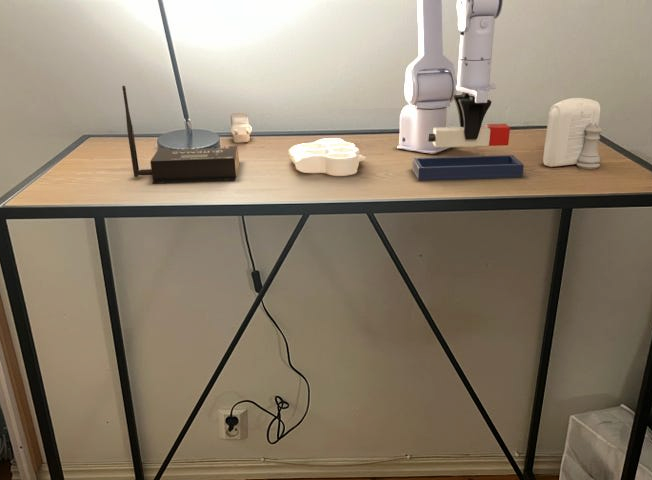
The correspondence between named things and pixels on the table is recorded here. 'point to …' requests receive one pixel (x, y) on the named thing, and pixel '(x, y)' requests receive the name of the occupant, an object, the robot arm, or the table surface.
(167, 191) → the table surface
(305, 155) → the white lobed tray
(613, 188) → the table surface
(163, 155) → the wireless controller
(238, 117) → the power adapter
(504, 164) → the tray
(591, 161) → the rook chess piece
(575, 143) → the photo printer
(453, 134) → the marker
